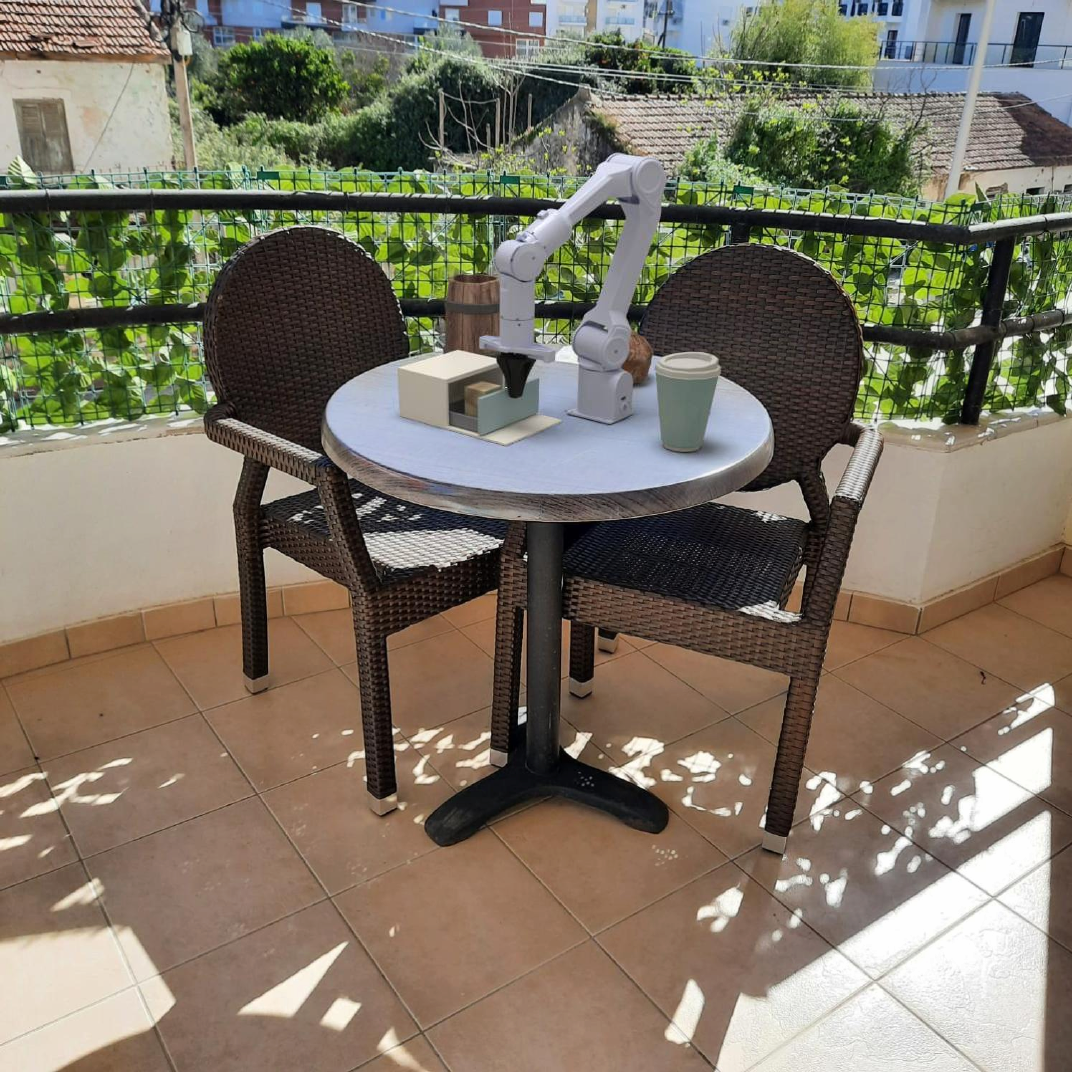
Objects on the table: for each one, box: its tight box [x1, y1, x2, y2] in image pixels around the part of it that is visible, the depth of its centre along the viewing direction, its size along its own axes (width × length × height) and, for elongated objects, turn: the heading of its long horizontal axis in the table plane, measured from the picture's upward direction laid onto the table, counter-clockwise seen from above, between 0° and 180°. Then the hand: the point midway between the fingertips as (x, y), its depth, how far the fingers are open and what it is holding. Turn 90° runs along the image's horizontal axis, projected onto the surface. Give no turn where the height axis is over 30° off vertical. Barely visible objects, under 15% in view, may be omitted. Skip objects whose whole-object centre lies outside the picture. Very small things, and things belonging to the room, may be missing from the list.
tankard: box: [442, 273, 507, 387], centre depth 192 cm, size 24×17×20 cm
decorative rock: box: [621, 329, 654, 384], centre depth 194 cm, size 13×11×10 cm
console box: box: [397, 350, 563, 447], centre depth 169 cm, size 24×16×9 cm, turn 53°
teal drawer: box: [449, 377, 540, 435], centre depth 169 cm, size 11×16×6 cm
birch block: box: [465, 381, 501, 418], centre depth 169 cm, size 4×4×5 cm
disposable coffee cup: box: [654, 351, 722, 453], centre depth 158 cm, size 11×11×15 cm
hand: (516, 396), depth 165 cm, fingers closed
